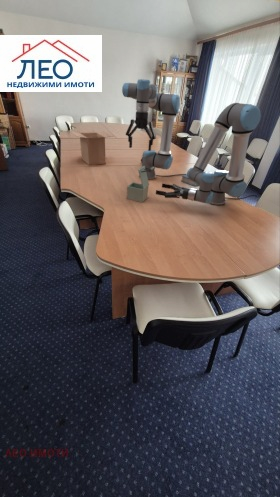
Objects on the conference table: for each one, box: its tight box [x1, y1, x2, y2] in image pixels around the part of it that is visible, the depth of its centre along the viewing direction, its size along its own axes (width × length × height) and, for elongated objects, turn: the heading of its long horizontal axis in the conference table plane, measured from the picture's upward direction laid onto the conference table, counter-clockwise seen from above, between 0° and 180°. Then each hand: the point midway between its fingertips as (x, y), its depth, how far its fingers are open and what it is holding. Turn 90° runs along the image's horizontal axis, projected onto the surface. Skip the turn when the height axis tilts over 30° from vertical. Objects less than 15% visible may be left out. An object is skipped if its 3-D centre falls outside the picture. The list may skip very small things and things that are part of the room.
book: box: [180, 173, 200, 187], centre depth 203 cm, size 23×16×5 cm
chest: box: [126, 181, 149, 203], centre depth 164 cm, size 13×10×10 cm
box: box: [70, 129, 114, 166], centre depth 229 cm, size 44×36×27 cm
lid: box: [138, 166, 156, 189], centre depth 154 cm, size 14×10×9 cm
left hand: (139, 149), depth 146 cm, fingers open, 13 cm apart
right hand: (159, 188), depth 155 cm, fingers open, 13 cm apart
